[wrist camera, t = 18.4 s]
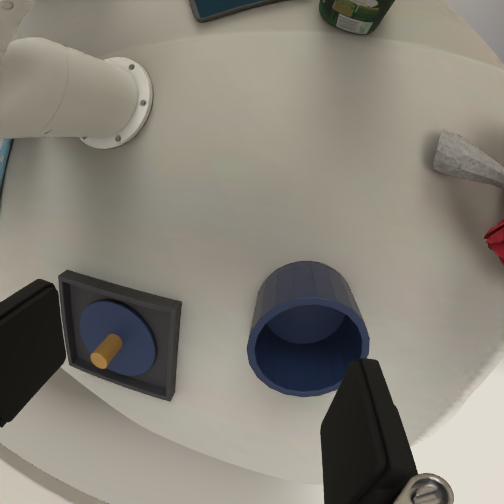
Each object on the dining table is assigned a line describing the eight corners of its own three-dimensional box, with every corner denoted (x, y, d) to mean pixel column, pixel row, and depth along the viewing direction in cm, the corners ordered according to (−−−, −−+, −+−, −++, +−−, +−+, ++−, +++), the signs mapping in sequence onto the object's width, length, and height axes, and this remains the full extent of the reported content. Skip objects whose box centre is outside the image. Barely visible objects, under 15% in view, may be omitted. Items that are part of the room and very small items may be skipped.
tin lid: (86, 356, 48) (67, 378, 41) (80, 288, 44) (56, 306, 37) (157, 381, 47) (142, 408, 41) (159, 311, 43) (141, 336, 37)
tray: (75, 357, 49) (69, 365, 47) (67, 269, 43) (58, 275, 41) (174, 392, 48) (170, 401, 46) (181, 301, 43) (176, 310, 40)
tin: (248, 336, 43) (238, 385, 33) (267, 251, 39) (260, 285, 29) (335, 352, 43) (345, 402, 33) (363, 272, 39) (386, 310, 29)
